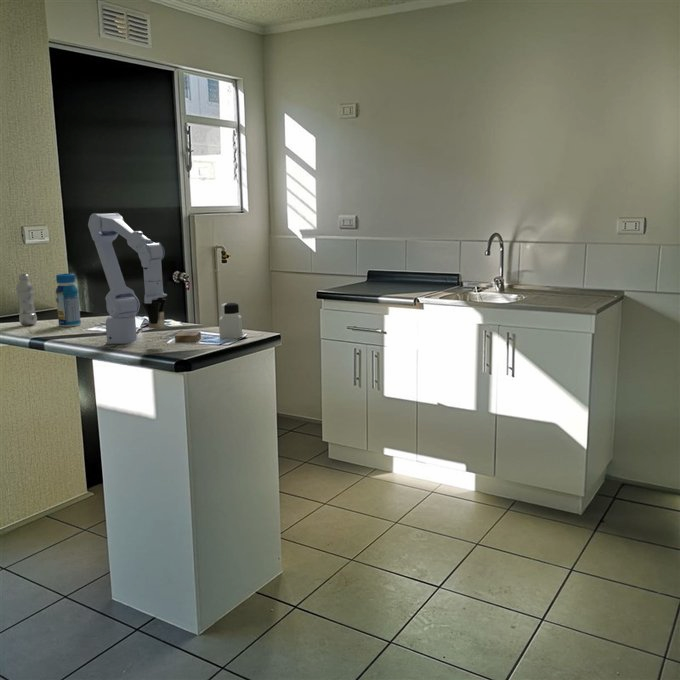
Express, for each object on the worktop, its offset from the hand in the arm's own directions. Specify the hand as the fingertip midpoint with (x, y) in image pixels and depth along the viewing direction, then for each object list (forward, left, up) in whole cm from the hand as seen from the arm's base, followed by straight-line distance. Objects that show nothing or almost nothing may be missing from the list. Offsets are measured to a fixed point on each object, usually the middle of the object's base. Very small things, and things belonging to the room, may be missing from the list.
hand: (156, 322), depth 234 cm
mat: (+8, +8, -8) cm, 14 cm away
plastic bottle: (-65, +45, -9) cm, 79 cm away
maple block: (0, 0, -2) cm, 2 cm away
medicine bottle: (+21, +17, -9) cm, 28 cm away
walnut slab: (+8, +8, -8) cm, 14 cm away
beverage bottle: (-48, +44, -9) cm, 66 cm away
